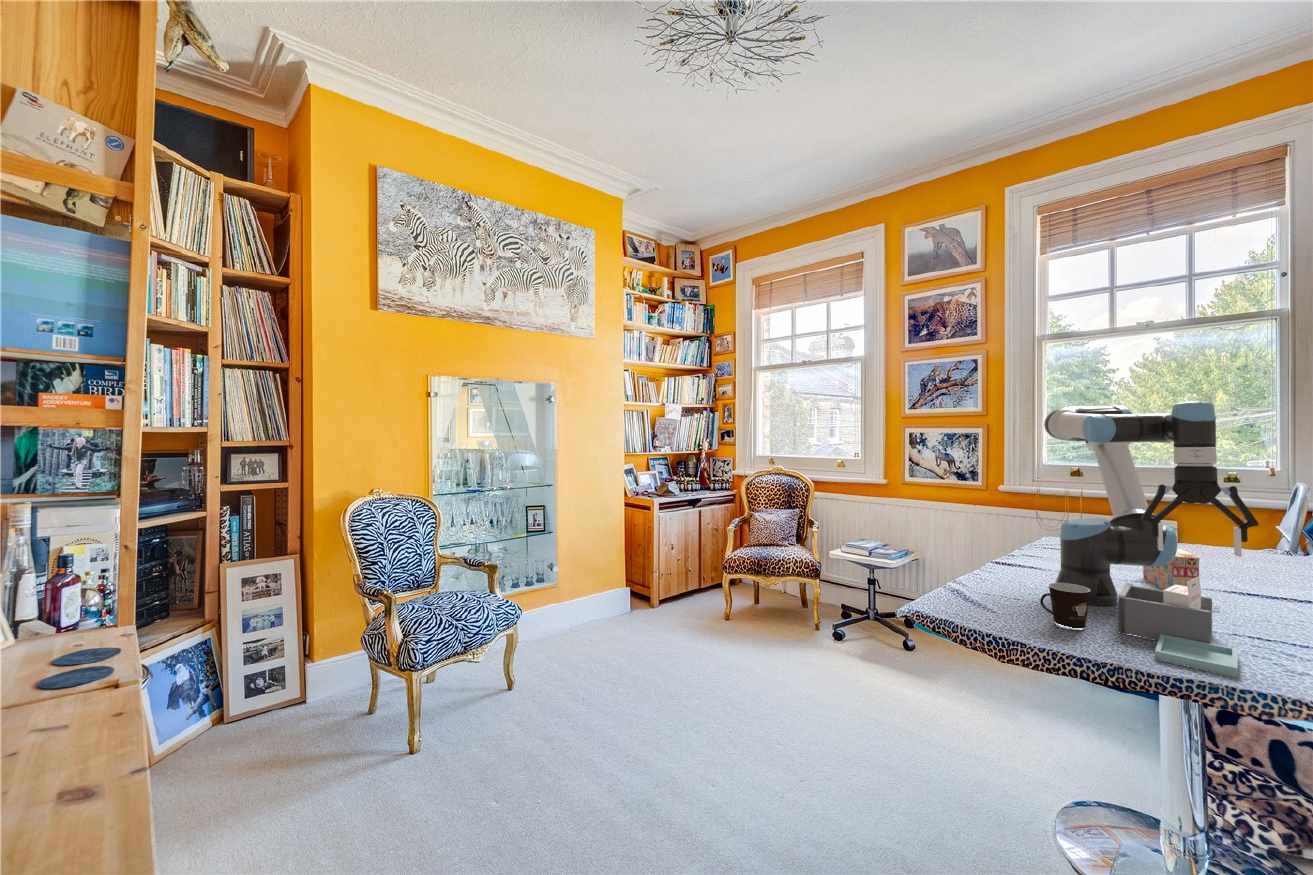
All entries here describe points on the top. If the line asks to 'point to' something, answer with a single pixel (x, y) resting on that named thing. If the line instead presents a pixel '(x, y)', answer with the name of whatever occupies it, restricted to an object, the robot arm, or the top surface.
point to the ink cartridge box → (1184, 595)
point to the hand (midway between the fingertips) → (1198, 553)
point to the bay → (1161, 615)
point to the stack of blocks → (1174, 571)
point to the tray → (1198, 655)
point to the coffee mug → (1068, 604)
